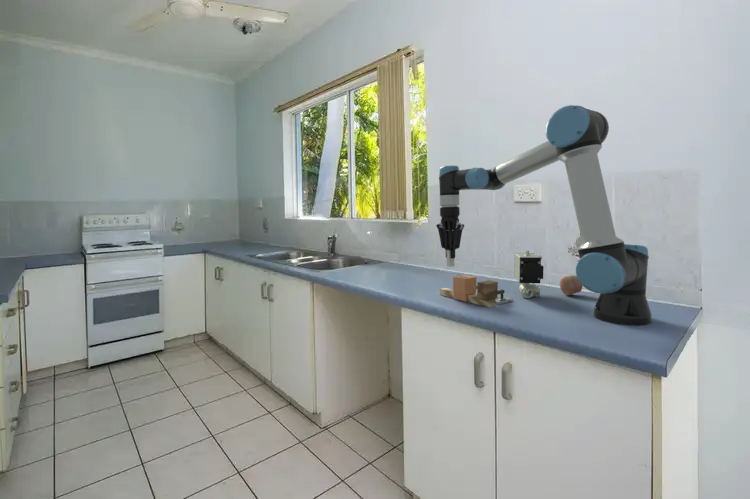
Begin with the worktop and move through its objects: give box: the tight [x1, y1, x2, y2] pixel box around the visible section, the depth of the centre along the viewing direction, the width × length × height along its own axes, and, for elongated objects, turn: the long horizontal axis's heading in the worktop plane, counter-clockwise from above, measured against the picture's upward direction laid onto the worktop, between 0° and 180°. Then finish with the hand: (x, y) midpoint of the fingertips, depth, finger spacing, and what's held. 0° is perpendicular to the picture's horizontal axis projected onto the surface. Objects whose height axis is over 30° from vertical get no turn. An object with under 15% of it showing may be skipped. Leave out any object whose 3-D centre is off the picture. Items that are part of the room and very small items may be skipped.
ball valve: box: [513, 250, 544, 299], centre depth 152 cm, size 18×8×18 cm, turn 168°
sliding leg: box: [452, 274, 477, 303], centre depth 151 cm, size 6×12×8 cm, turn 124°
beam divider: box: [439, 279, 505, 308], centre depth 150 cm, size 25×12×8 cm, turn 34°
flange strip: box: [475, 289, 514, 306], centre depth 153 cm, size 22×9×1 cm, turn 34°
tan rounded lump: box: [559, 274, 584, 297], centre depth 153 cm, size 8×8×8 cm
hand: (450, 266), depth 157 cm, fingers closed
